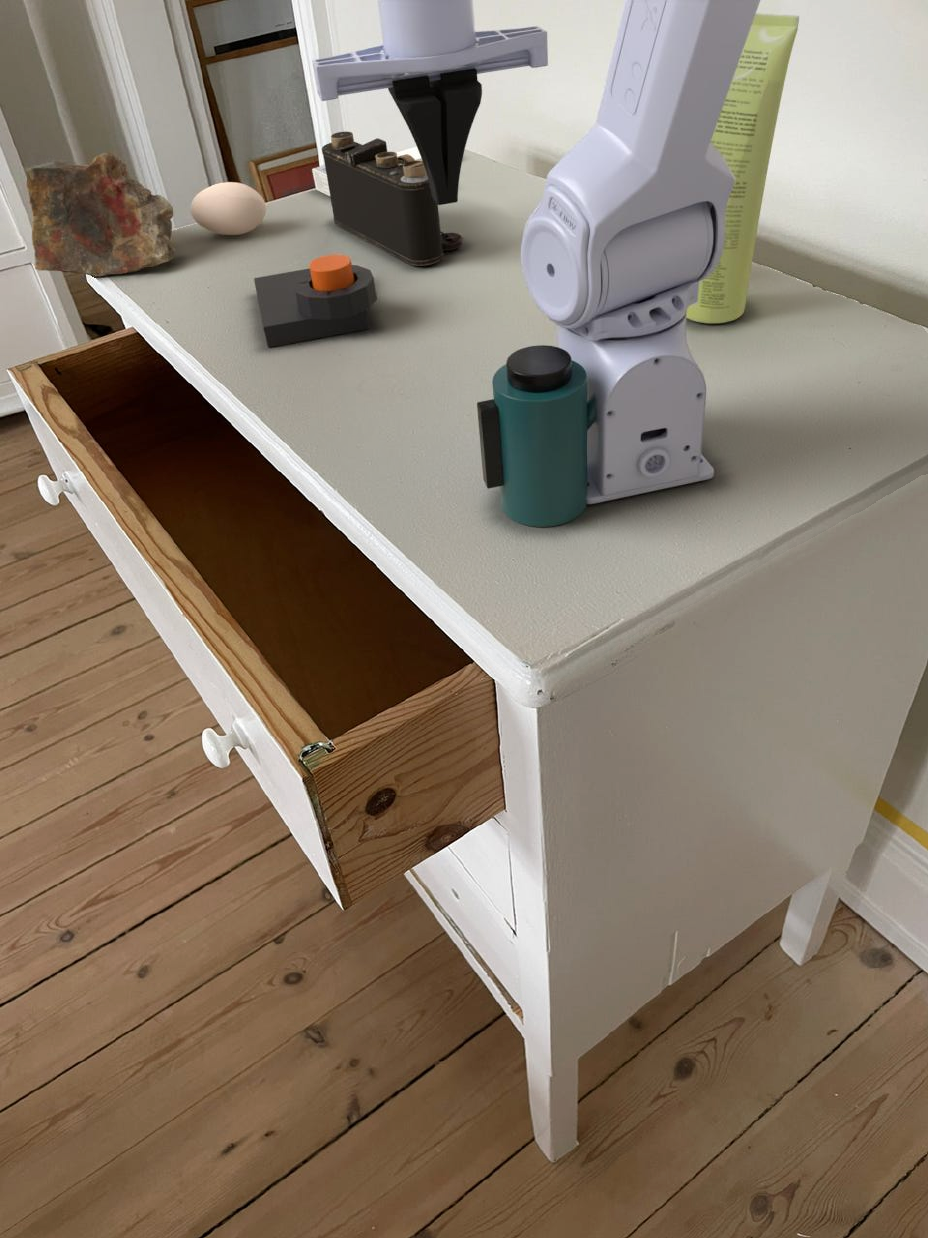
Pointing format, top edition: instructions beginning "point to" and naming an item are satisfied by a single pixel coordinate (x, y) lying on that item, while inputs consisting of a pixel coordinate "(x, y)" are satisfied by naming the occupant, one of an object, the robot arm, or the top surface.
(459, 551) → the top surface
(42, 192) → the rock
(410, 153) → the eraser
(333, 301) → the push button switch
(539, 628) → the top surface
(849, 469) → the top surface
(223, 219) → the egg
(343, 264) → the switch button
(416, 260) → the camera
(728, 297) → the tube
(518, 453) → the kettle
